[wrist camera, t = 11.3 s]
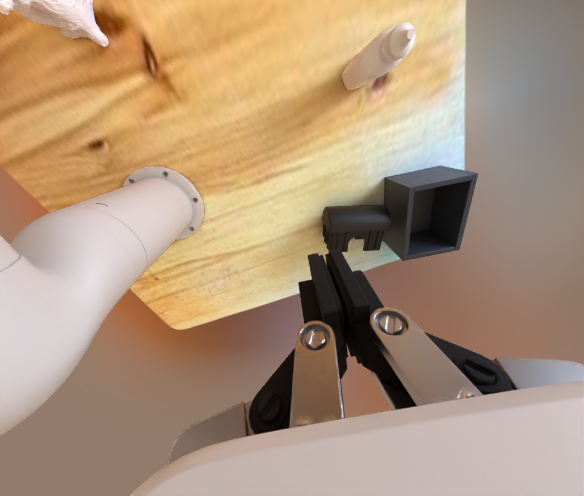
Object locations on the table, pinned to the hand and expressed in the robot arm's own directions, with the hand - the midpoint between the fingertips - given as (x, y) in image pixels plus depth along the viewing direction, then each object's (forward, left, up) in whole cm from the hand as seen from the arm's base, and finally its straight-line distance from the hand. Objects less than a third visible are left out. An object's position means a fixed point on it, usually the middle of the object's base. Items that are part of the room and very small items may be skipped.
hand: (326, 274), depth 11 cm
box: (+20, -9, -27) cm, 35 cm away
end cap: (+9, -9, -27) cm, 30 cm away
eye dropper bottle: (+12, +12, -27) cm, 32 cm away
